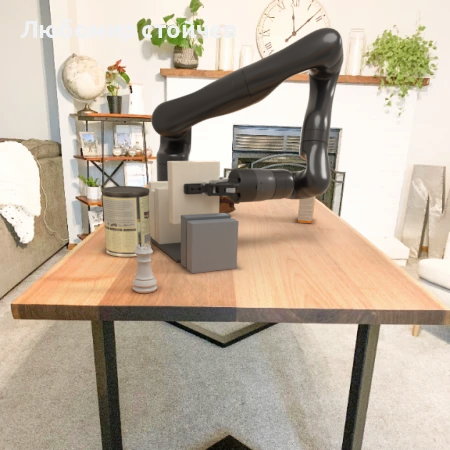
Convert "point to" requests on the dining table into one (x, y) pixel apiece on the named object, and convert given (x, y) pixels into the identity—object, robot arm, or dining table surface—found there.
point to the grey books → (209, 242)
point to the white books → (163, 221)
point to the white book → (190, 202)
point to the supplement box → (306, 210)
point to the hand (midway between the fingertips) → (181, 188)
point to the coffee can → (126, 219)
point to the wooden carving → (226, 205)
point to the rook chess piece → (144, 270)
